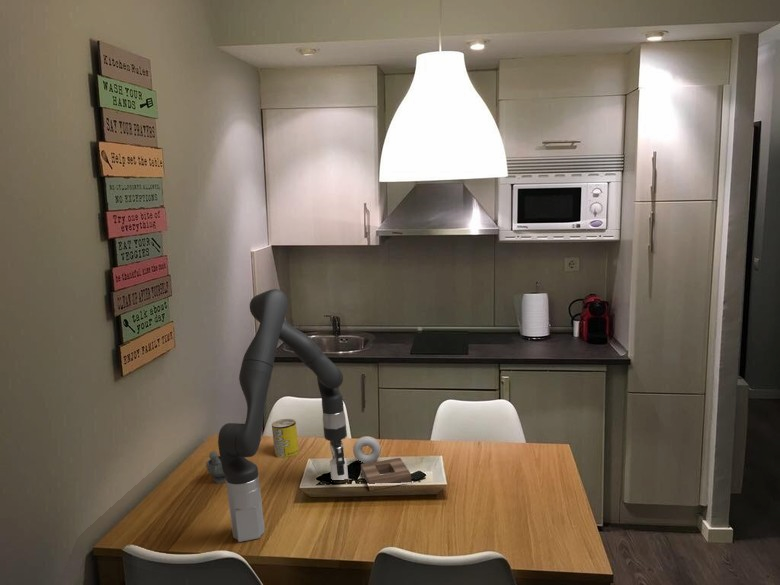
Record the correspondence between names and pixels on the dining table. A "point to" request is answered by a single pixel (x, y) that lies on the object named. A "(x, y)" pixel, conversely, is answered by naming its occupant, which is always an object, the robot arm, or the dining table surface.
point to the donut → (371, 443)
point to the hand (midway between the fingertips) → (338, 469)
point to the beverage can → (285, 438)
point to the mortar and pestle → (215, 468)
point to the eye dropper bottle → (334, 470)
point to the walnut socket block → (386, 471)
